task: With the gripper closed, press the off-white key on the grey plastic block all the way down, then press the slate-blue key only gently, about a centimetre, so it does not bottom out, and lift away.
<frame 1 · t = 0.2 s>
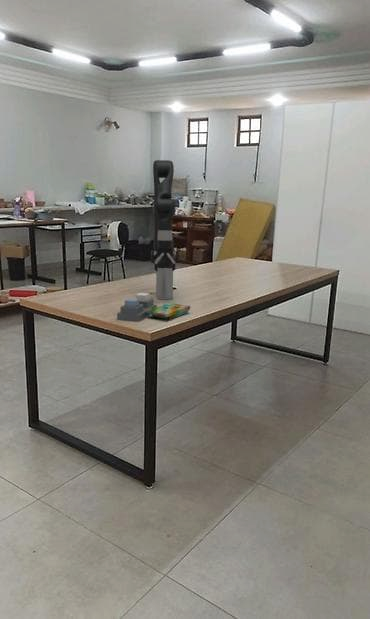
hand: (164, 271, 243), 18 cm above the table, tool pointing down, fingers open, 8 cm apart
blue key: (132, 302, 218), point 7 cm above the table, slide at 0.0 cm
white key: (142, 297, 230), point 7 cm above the table, slide at 0.0 cm
puzzle game: (168, 316, 226), on the table
grey plastic block: (137, 314, 226), on the table
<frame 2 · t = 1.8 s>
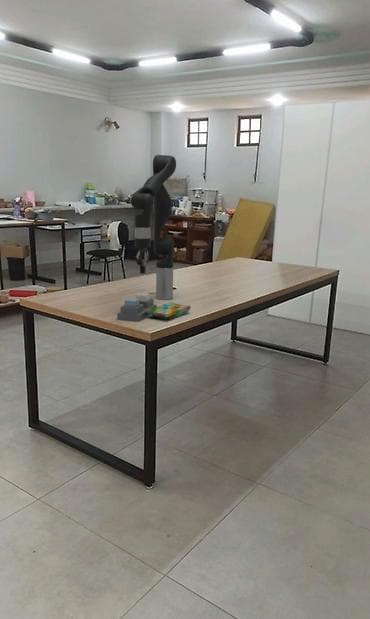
hand: (142, 273, 227), 19 cm above the table, tool pointing down, fingers closed
nothing on the table moved.
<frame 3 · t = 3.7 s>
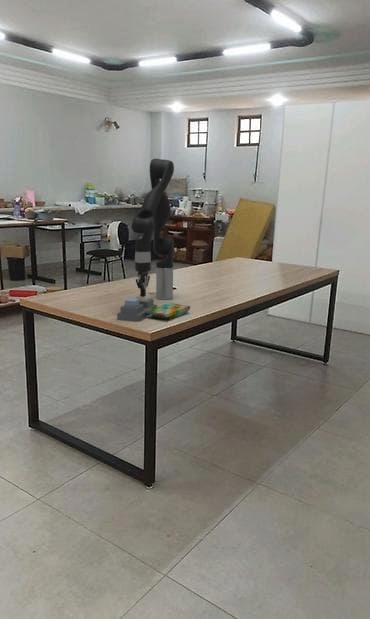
hand: (143, 296, 230), 8 cm above the table, tool pointing down, fingers closed
white key: (142, 299, 230), point 6 cm above the table, slide at 1.1 cm, touching gripper
everything else where it was.
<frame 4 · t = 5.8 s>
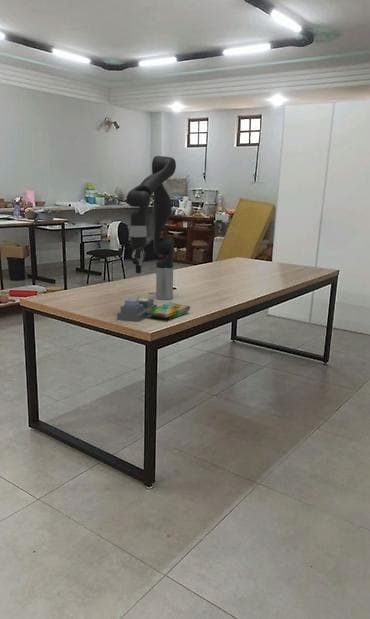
hand: (138, 273, 221), 20 cm above the table, tool pointing down, fingers closed
white key: (142, 302, 230), point 5 cm above the table, slide at 2.6 cm
everything else where it was.
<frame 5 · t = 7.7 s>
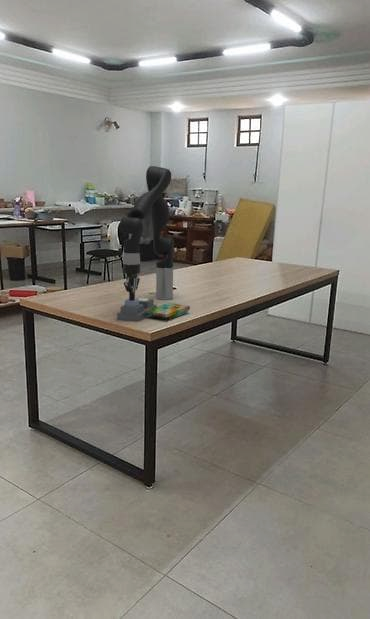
hand: (132, 300, 217), 9 cm above the table, tool pointing down, fingers closed
blue key: (132, 303, 218), point 7 cm above the table, slide at 0.2 cm, touching gripper
everything else where it was.
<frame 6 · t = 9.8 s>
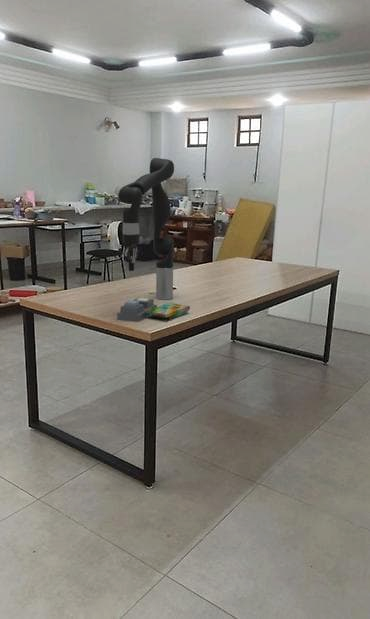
hand: (131, 270, 218), 22 cm above the table, tool pointing down, fingers closed
blue key: (132, 304, 218), point 6 cm above the table, slide at 1.0 cm
everything else where it was.
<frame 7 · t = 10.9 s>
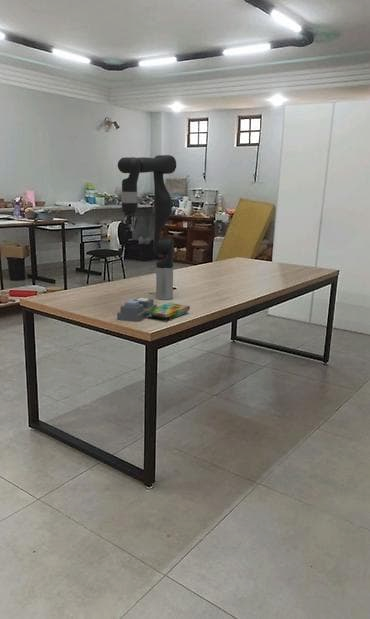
hand: (130, 238, 226), 35 cm above the table, tool pointing down, fingers closed
nothing on the table moved.
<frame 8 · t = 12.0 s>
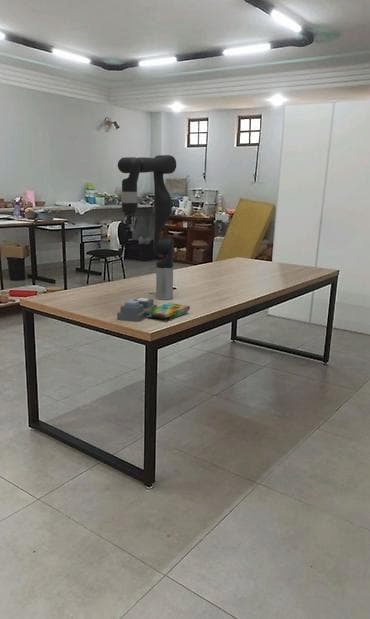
hand: (130, 238, 226), 35 cm above the table, tool pointing down, fingers closed
nothing on the table moved.
at the end: white key slide at 2.6 cm; blue key slide at 1.0 cm; puzzle game moved 0.7 cm from its start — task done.
